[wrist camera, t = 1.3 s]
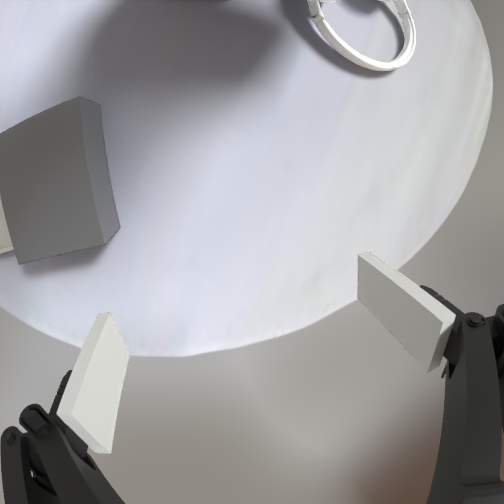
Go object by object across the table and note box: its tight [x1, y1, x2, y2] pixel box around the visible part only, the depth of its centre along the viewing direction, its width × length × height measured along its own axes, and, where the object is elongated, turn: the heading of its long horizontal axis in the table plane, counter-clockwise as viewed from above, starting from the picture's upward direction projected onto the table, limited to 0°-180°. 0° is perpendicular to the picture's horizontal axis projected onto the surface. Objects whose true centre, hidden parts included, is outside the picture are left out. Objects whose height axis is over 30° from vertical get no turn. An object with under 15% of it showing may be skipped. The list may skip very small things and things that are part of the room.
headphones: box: [307, 0, 416, 71], centre depth 26 cm, size 20×8×20 cm
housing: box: [0, 96, 120, 265], centre depth 27 cm, size 14×17×7 cm
